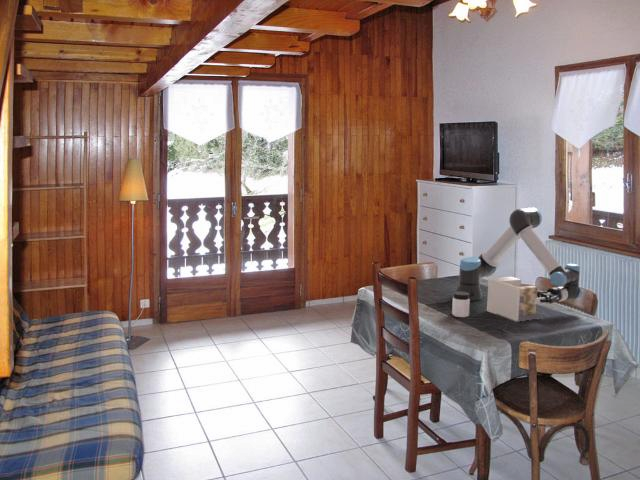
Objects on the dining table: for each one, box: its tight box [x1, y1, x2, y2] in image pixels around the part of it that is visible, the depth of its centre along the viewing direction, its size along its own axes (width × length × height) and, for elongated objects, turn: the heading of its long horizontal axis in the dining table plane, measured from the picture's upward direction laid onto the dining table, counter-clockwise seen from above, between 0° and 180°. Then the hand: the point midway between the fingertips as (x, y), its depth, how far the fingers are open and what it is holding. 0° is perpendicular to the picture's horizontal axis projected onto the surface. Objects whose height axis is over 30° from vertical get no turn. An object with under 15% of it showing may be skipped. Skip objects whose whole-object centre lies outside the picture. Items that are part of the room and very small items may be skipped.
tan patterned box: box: [519, 285, 539, 315], centre depth 332 cm, size 12×4×16 cm, turn 113°
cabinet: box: [486, 276, 540, 323], centre depth 339 cm, size 16×23×18 cm, turn 24°
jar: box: [451, 291, 471, 318], centre depth 337 cm, size 9×8×12 cm
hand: (525, 298), depth 332 cm, fingers open, 13 cm apart
